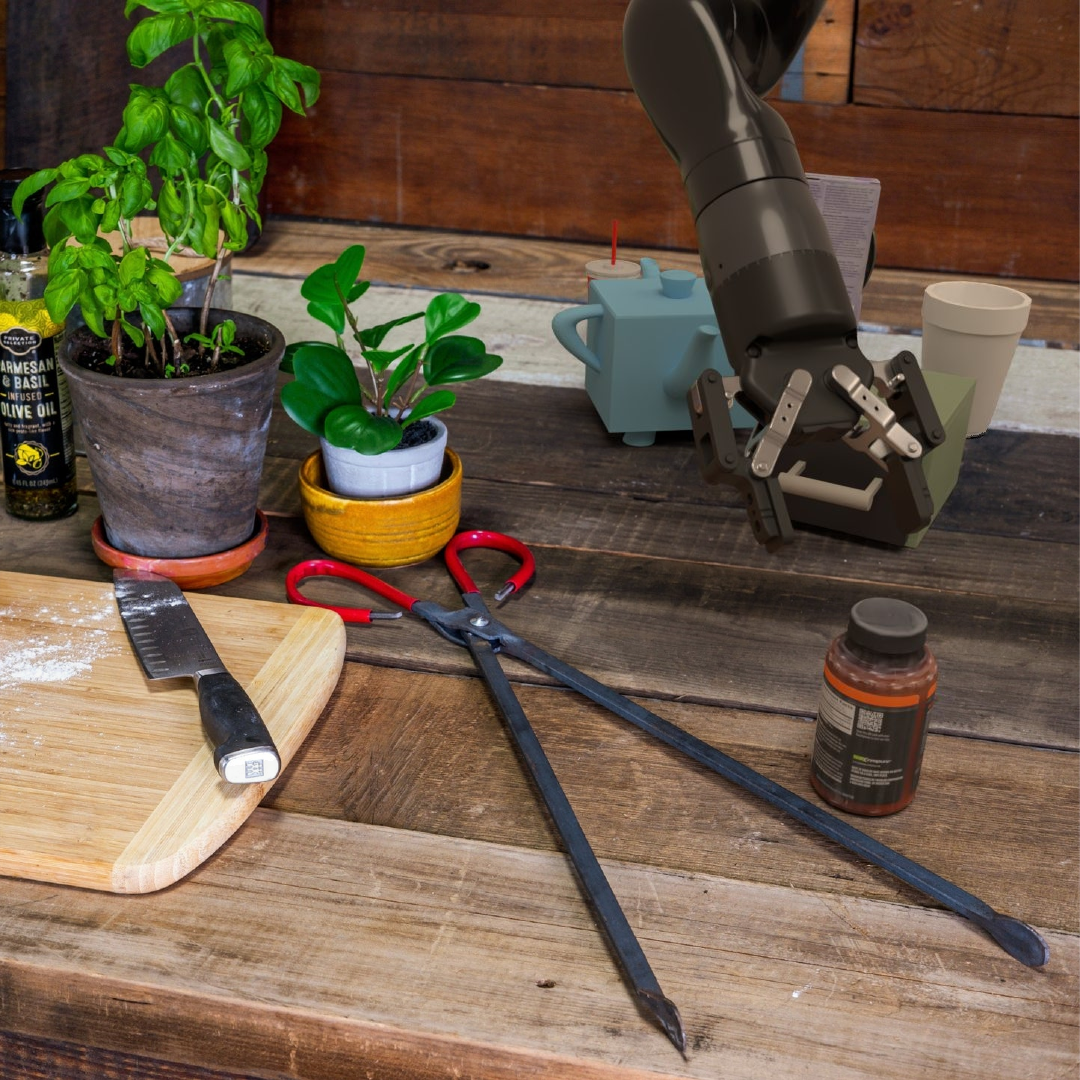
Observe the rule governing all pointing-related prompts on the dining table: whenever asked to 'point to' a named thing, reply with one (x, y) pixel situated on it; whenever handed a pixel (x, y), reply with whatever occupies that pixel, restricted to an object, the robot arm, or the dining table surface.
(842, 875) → the dining table surface
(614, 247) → the beverage cup
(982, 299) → the foam cup
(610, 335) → the teakettle
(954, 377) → the cabinet
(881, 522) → the drawer
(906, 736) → the supplement bottle
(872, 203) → the cake pan box
